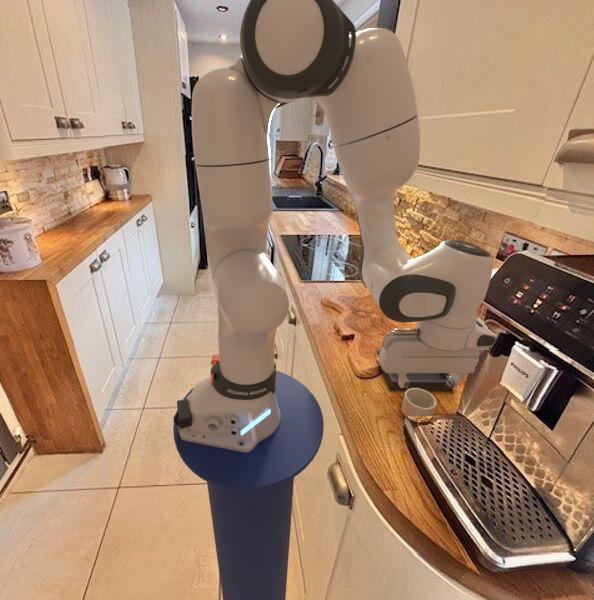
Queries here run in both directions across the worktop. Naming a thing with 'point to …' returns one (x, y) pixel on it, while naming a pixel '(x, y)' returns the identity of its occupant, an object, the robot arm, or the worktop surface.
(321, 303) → the worktop surface
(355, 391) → the worktop surface
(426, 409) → the cup
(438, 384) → the tray
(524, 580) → the worktop surface
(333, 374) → the worktop surface
